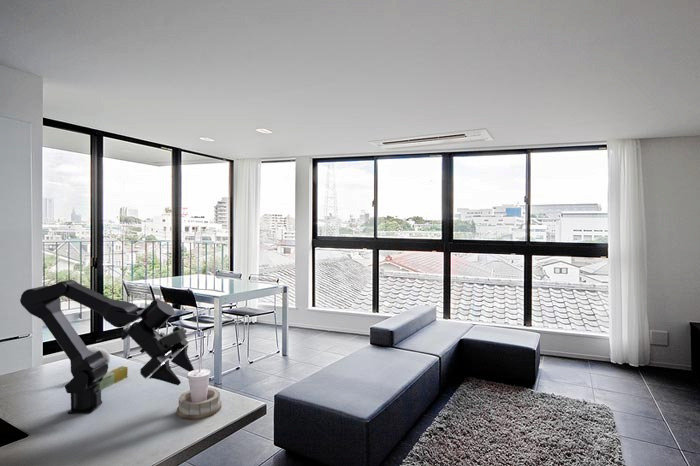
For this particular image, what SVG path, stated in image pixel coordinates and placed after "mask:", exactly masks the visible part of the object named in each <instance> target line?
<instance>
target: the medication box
mask: <svg viewBox="0 0 700 466" xmlns="http://www.w3.org/2000/svg"><path fill="white" fill-rule="evenodd" d="M128 370H129V369H128V366H119V367H117V368H114V369H112V370H109V371H107V373H106V375H105V376H104V377H103V380H102V381H101V382H99V383H98V384H99V390H101V391H102V390H104V389H106V388H108V387H110V386H112V385H114V384H116V383H118V382H121V381H122V380H125V379H126V378H128ZM124 378H125V379H124Z"/></svg>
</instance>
